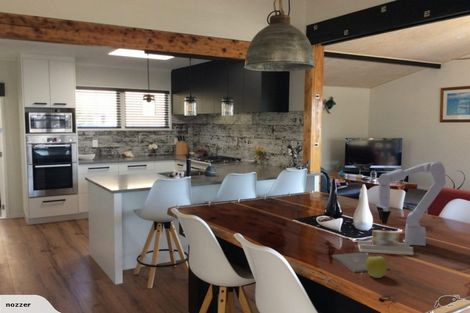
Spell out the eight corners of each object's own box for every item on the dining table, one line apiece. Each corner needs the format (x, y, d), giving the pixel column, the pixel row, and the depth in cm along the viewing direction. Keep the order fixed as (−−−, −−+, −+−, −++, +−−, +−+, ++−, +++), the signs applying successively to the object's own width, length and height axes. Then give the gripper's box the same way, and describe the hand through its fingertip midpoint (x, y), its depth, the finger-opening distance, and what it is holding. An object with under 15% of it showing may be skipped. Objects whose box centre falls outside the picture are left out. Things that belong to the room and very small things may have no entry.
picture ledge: (408, 248, 201) (408, 242, 201) (413, 254, 192) (413, 248, 191) (357, 245, 206) (358, 239, 206) (360, 251, 196) (360, 245, 196)
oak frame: (397, 247, 199) (398, 231, 198) (398, 249, 196) (399, 233, 195) (371, 246, 201) (372, 230, 201) (372, 247, 198) (373, 231, 198)
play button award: (354, 270, 169) (332, 254, 188) (354, 273, 169) (332, 258, 188) (389, 266, 173) (363, 252, 192) (389, 270, 173) (363, 255, 192)
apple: (389, 278, 159) (382, 253, 160) (369, 281, 162) (362, 257, 163) (390, 272, 167) (383, 248, 167) (370, 275, 170) (363, 251, 170)
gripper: (374, 193, 223) (373, 218, 224) (378, 198, 209) (377, 224, 210) (387, 194, 222) (386, 219, 223) (392, 199, 207) (391, 225, 208)
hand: (383, 222), depth 216 cm, fingers open, 7 cm apart
